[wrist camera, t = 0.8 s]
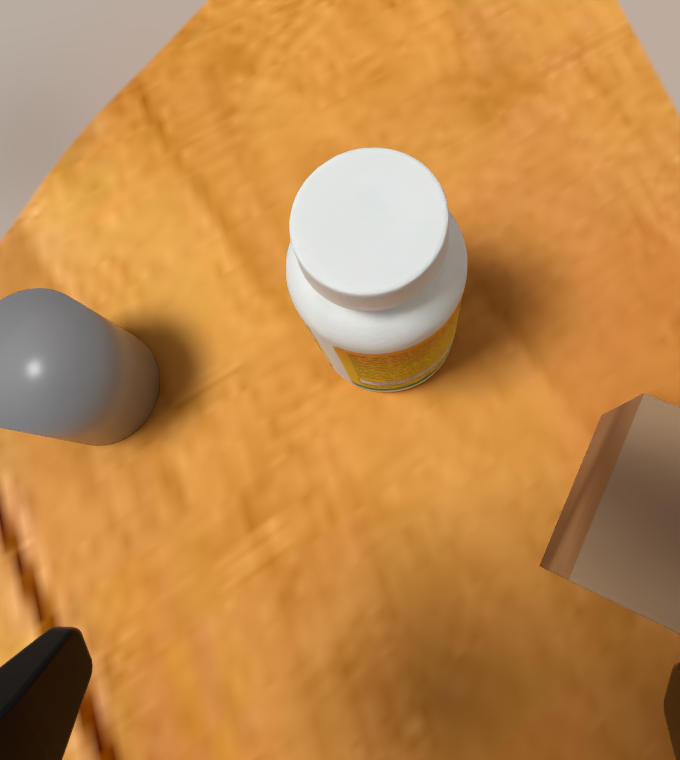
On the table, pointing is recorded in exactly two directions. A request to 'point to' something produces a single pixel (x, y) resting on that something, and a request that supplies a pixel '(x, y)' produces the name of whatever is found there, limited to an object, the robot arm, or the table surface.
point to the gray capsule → (71, 371)
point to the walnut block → (626, 513)
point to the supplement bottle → (377, 267)
